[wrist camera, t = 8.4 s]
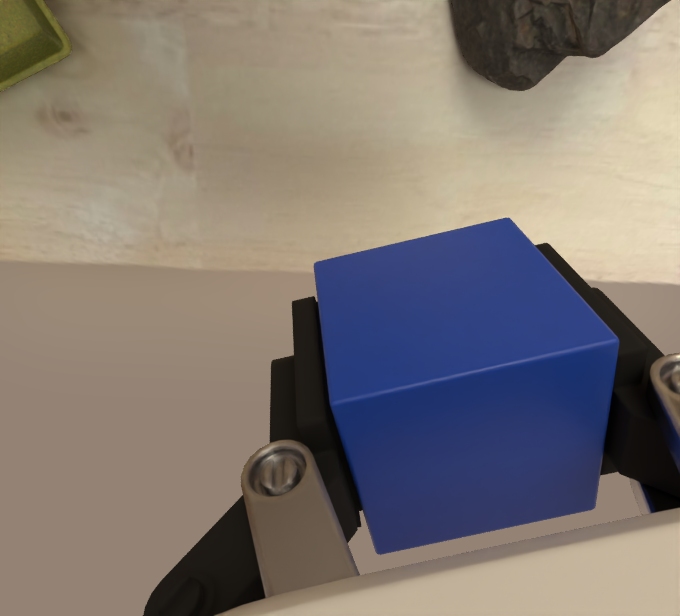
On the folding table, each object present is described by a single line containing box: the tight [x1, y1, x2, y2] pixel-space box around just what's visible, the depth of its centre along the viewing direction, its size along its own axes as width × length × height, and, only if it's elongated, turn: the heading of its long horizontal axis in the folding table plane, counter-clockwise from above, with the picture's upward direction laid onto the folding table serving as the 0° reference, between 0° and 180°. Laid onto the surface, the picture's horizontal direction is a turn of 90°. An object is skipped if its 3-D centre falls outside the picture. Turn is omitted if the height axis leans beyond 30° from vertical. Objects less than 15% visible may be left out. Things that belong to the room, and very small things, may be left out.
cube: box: [314, 218, 619, 555], centre depth 11 cm, size 4×4×4 cm
